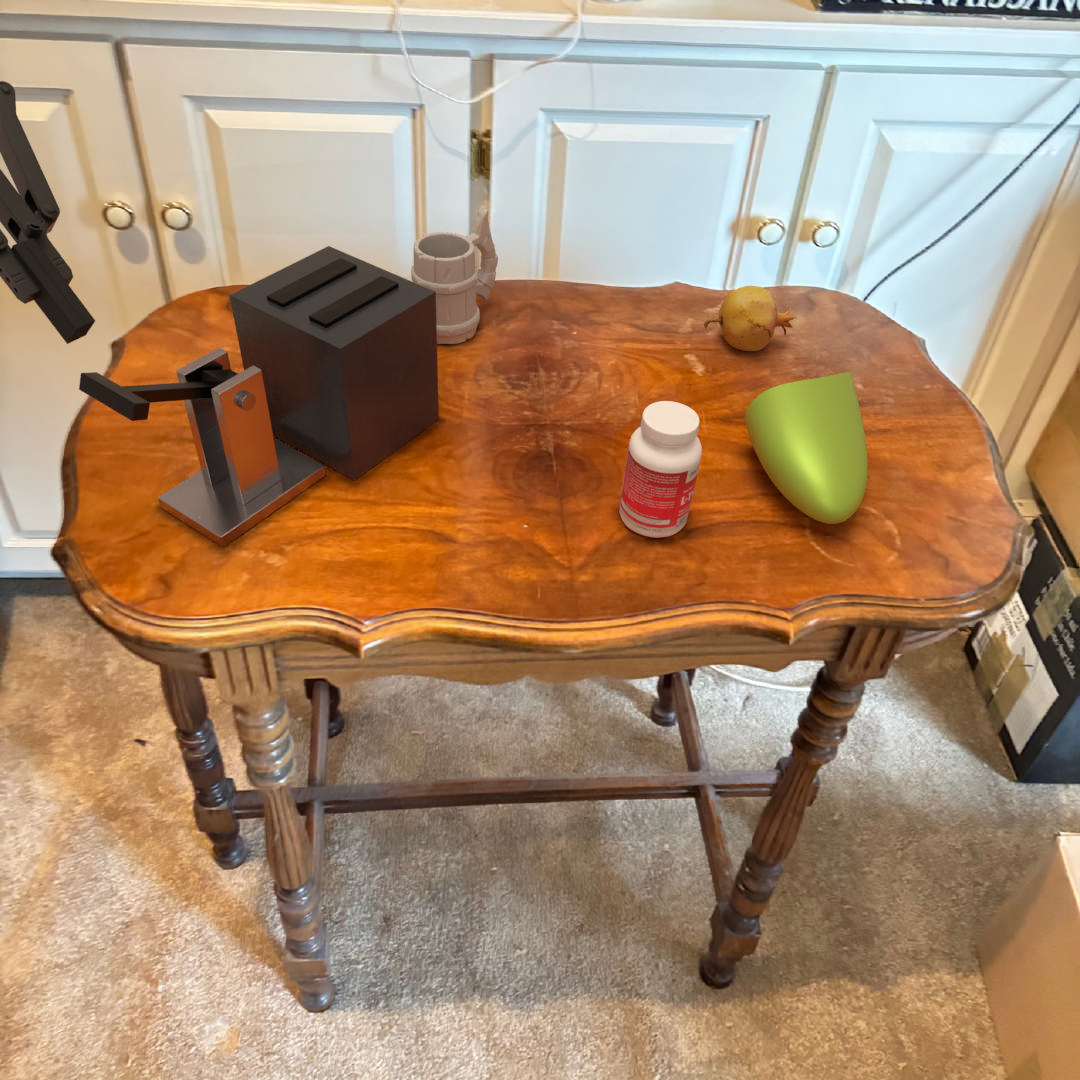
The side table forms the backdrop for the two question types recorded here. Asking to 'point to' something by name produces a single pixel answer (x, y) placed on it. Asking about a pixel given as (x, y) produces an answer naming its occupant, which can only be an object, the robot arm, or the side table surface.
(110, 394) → the lever
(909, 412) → the side table surface
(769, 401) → the green rounded cone
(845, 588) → the side table surface
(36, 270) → the robot arm
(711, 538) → the side table surface
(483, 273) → the mug
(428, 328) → the toaster
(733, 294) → the fruit
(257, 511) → the lever bracket
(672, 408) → the pill bottle
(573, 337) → the side table surface
